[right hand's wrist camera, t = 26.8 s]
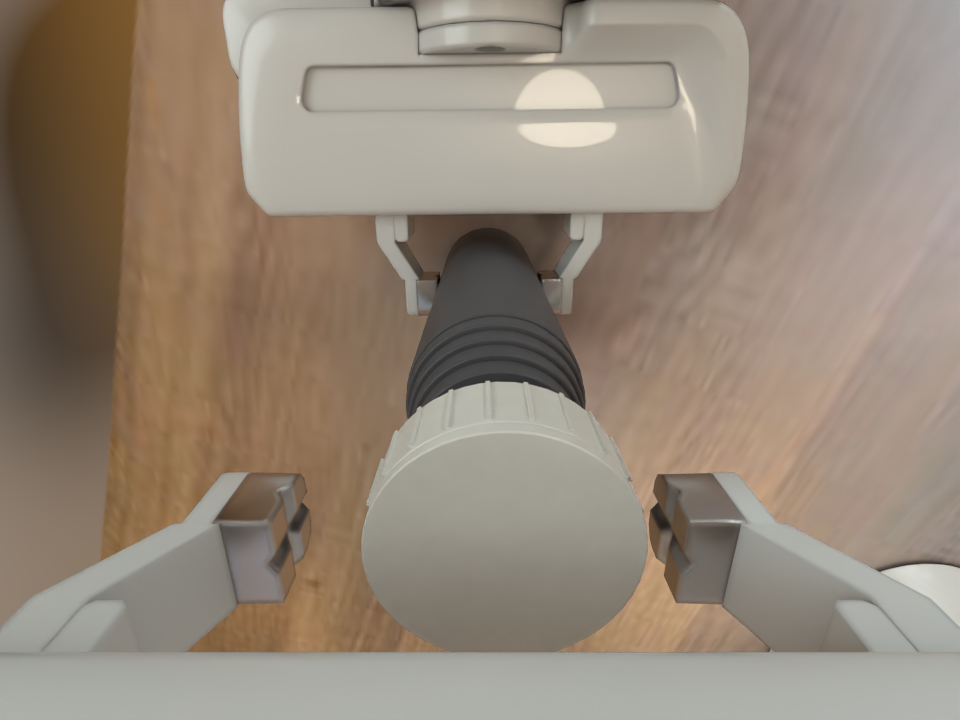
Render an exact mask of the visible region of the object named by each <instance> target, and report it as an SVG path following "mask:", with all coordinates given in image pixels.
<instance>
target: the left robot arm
mask: <svg viewBox="0 0 960 720" xmlns="http://www.w3.org/2000/svg"><path fill="white" fill-rule="evenodd" d="M223 24H224V30H225V36H226V42H227V48H228V54H229V59H230V62H231V65H232V68H233V70H234V73H235V74H236V76H237V78H238V79H239V87H238V92H239V129H240V144H241V155H242V164H243V174H244V180H245V186H246V190H247V192H248V194H249V195H250V197H251V198H252V199H253V200H254V201H255V202H256V203H257V204H258V205H259V206H260V208H261V209H262V210H263V211H264V212H265V213H266V214H268V215H269V216H273V217H297V216H375V224H376V236H377V243H378V245H379V246H380V248H381V249H382V251H383V252H384V254H385V255H386V257H387V258H388V259H389V261H390V262H391V264H392V265H393V267H394V268H395V270H396V271H397V273H398V274H399V276H400V277H401V279H402V280H405V286H406V301H407V312H408V315H409V316H422V315H429V313H430V310H431V307H432V304H433V301H434V298H435V295H436V292H437V289H438V286H439V282H440V272H423V270H422V268H421V266H420V265H419V263H418V261H417V260H416V258H415V256H414V255H413V253H412V251H411V250H410V248H409V247H408V245H407V243H406V241H407V240H408V239H409V238H410V237H411V235H412V234H413V233H414V219H413V215H486V214H564V218H563V231H564V232H565V233H566V234H567V235H568V236H569V237H570V238H571V239H572V240H571V242H570V244H569V245H568V247H567V249H566V250H565V252H564V254H563V255H562V257H561V259H560V260H559V262H558V264H557V265H556V267H555V269H554V270H550V271H537V277H538V279H539V281H540V283H541V286H542V288H543V290H544V292H545V294H546V296H547V298H548V301H549V303H550V305H551V307H552V309H553V311H554V313H555V314H570V313H571V310H572V298H573V280H574V278H577V277H578V275H579V274H580V272H581V271H582V269H583V268H584V266H585V265H586V263H587V262H588V260H589V259H590V257H591V256H592V254H593V253H594V251H595V250H596V248H597V247H598V245H599V244H600V242H601V240H602V228H603V215H604V213H674V212H710V211H713V210H714V209H716V208H717V207H718V206H719V205H720V204H721V203H722V201H723V200H724V199H725V198H726V197H727V196H728V194H729V193H730V192H731V191H732V190H733V188H734V187H735V185H736V182H737V179H738V175H739V171H740V166H741V159H742V153H743V145H744V137H745V128H746V118H747V105H748V88H749V49H748V41H747V37H746V33H745V30H744V27H743V25H742V22H741V20H740V19H739V17H738V16H737V15H736V13H735V12H734V11H733V10H732V9H731V8H730V7H728V6H727V5H725V4H724V3H722V2H720V1H717V0H225V2H224V6H223Z"/></svg>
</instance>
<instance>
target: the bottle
mask: <svg viewBox="0 0 960 720" xmlns="http://www.w3.org/2000/svg"><path fill="white" fill-rule="evenodd" d="M485 381H490V382H517V383H523V382H528V384H530V385H534V386H538V387H541V388H545V389H548V390H551V391H553V392H555V393H558V394H559V392H561V393H563V394H564V396H565V397H566V398H568V399H570V400H571V401H573V402H575V403H576V404H578V405H579V406H580V407H582V408H583V409H584V410H585V402H586V401H585V390H584V386H583V380H582V376H581V372H580V368H579V366H578V363H577V361H576V359H575V356H574V354H573V352H572V350H571V348H570V346H569V344H568V341H567V339H566V337H565V335H564V333H563V331H562V328H561V326H560V324H559V322H558V320H557V318H556V316H555V313H554V311H553V309H552V307H551V305H550V303H549V301H548V298H547V296H546V294H545V292H544V290H543V288H542V286H541V283H540V281H539V279H538V277H537V275H536V273H535V271H534V268H533V266H532V264H531V262H530V260H529V258H528V256H527V253H526V251H525V250H524V248H523V246H522V245H521V244H520V242H519V241H518V240H517V239H516V238H514V237H513V236H512V235H510V234H508V233H506V232H504V231H502V230H498V229H492V228H484V229H478V230H475V231H472V232H470V233H468V234H466V235H464V236H463V237H462V238H460V239H459V240H458V241H457V242H456V243H455V245H454V246H453V248H452V249H451V251H450V253H449V255H448V258H447V261H446V264H445V267H444V270H443V273H442V276H441V279H440V282H439V286H438V289H437V292H436V295H435V298H434V301H433V304H432V307H431V310H430V313H429V316H428V319H427V322H426V325H425V328H424V331H423V334H422V337H421V340H420V343H419V346H418V349H417V352H416V356H415V359H414V362H413V365H412V368H411V371H410V374H409V379H408V384H407V398H406V410H407V418H408V419H409V418H410V417H411V416H412V415H414V414H415V413H416V411H417V408H418V407H420V406H421V407H423V406H425V405H426V404H428V403H429V402H431V401H432V400H434V399H436V398H438V397H440V396H442V395H444V394H446V393H448V391H449V390H451V389H453V390H457V389H459V388H462V387H466V386H470V385H475V384H480V383H485Z"/></svg>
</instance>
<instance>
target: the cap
mask: <svg viewBox="0 0 960 720" xmlns="http://www.w3.org/2000/svg"><path fill="white" fill-rule="evenodd" d="M630 481H632V478H631V476H630V474H629V472H628V470H627V467H626V465H625V463H624V461H623V459H622V457H621V455H620V452H619V450H618V448H617V446H616V444H615V442H614V440H613V438H612V436H611V437H608V435H607V434H606V433H605V431H604V430H603V428H602V427H601V426H600V424H599V423H598V422H597V421H596V420H595V417H594V415H593V413H592V412H591V411H589V412H587V411H585V410H584V409H583V408H582V407H580V406H579V405H578V404H576V403H575V402H573V401H571V400H570V399H568V398H566V397H565V396H564V394H563V393H561V392H559V394H558V393H555V392H553V391H551V390H548V389H545V388H541V387H538V386H534V385H530V384H528V382H523V383H517V382H490V381H485V383H480V384H475V385H470V386H466V387H462V388H459V389H457V390H453V389H451V390H449V391H448V393H446V394H444V395H442V396H440V397H438V398H436V399H434V400H432V401H431V402H429V403H428V404H426V405H425V406H423V407H421V406H420V407H418V408H417V411H416V413H415V414H414V415H412V416H411V417H410V418H409V419H408V420H407V421H406V423H405V424H404V425H403V426H402V427H401V428H400V430H399V431H397V430H396V431H395V432H394V434H393V437H392V440H391V444H390V446H389V449H388V451H387V453H386V456H385V459H382V458H381V461H380V464H379V467H378V470H377V473H376V476H375V479H374V482H373V485H372V488H371V491H370V494H369V497H368V500H367V503H366V505H368V506H369V509H368V512H367V515H366V519H365V523H364V527H363V531H362V542H361V550H362V561H363V565H364V569H365V574H366V577H367V579H368V582H369V584H370V586H371V589H372V591H373V592H374V594H375V596H376V597H377V599H378V601H379V602H380V604H381V605H382V606H383V607H384V609H385V610H386V611H387V612H388V613H389V615H391V616H392V617H393V618H394V619H395V620H396V621H397V622H398V623H399V624H400V625H401V626H403V627H404V628H405V629H407V630H408V631H409V632H411V633H412V634H414V635H415V636H417V637H419V638H421V639H422V640H424V641H426V642H428V643H430V644H432V645H435V646H437V647H439V648H441V649H445V650H448V651H451V652H555V651H558V650H561V649H563V648H566V647H569V646H571V645H573V644H575V643H577V642H579V641H581V640H583V639H585V638H587V637H589V636H590V635H592V634H593V633H595V632H597V631H598V630H600V629H601V628H602V627H603V626H605V625H606V624H607V623H608V622H610V621H611V620H612V619H613V618H614V617H615V616H616V615H617V614H618V613H619V612H620V611H621V610H622V609H623V607H624V606H625V605H626V603H627V602H628V601H629V599H630V598H631V596H632V595H633V593H634V591H635V590H636V588H637V586H638V584H639V582H640V579H641V576H642V574H643V571H644V568H645V563H646V557H647V552H648V535H647V528H646V522H645V518H644V515H643V508H642V506H641V504H640V501H639V499H638V497H637V495H636V493H635V490H634V488H633V486H632V484H631V482H630Z"/></svg>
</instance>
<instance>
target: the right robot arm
mask: <svg viewBox="0 0 960 720" xmlns="http://www.w3.org/2000/svg"><path fill="white" fill-rule="evenodd" d="M306 493H307V490H306V484H305V479H304V477H303V476H302V475H301V474H297V473H249V472H235V473H225V474H222V475H221V476H220V477H219V478H218V480H217V481H216V482H215V483H214V484H213V486H212V487H211V488H210V489H209V491H208V492H207V493H206V494H205V495H204V497H203V498H202V499H201V500H200V502H199V503H198V504H197V505H196V507H195V508H194V509H193V510H192V511H191V513H190V514H189V515H188V516H187V518H186V519H185V520H184V521H183V523H182V524H172V525H170V526H168V527H166V528H164V529H162V530H160V531H158V532H156V533H155V534H153V535H151V536H149V537H147V538H145V539H143V540H141V541H139V542H137V543H135V544H133V545H131V546H129V547H127V548H125V549H124V550H122V551H120V552H118V553H116V554H114V555H112V556H110V557H108V558H106V559H104V560H102V561H100V562H98V563H97V564H95V565H93V566H91V567H89V568H87V569H85V570H83V571H81V572H79V573H77V574H75V575H73V576H71V577H69V578H67V579H66V580H64V581H62V582H60V583H58V584H56V585H54V586H52V587H50V588H48V589H46V590H44V591H42V592H40V593H38V594H36V595H34V596H33V597H31V598H30V599H29V600H28V601H27V602H26V603H25V604H24V605H23V606H21V607H20V609H18V610H17V611H16V612H15V613H14V614H13V615H12V616H11V617H10V618H9V619H8V620H7V621H6V622H5V623H4V624H3V625H2V626H1V627H0V720H960V568H958V567H953V566H948V565H941V564H914V565H906V566H901V567H896V568H891V569H888V570H884V571H881V572H879V571H877V570H875V569H873V568H871V567H869V566H867V565H865V564H863V563H861V562H859V561H858V560H856V559H854V558H852V557H850V556H848V555H846V554H844V553H842V552H840V551H838V550H836V549H834V548H832V547H831V546H829V545H827V544H825V543H823V542H821V541H819V540H817V539H815V538H813V537H811V536H809V535H807V534H805V533H803V532H802V531H800V530H798V529H796V528H794V527H792V526H790V525H788V524H778V523H777V521H776V520H775V519H774V518H773V516H772V515H771V514H770V513H769V512H768V510H767V509H766V508H765V507H764V505H763V504H762V503H761V502H760V500H759V499H758V498H757V497H756V496H755V494H754V493H753V492H752V491H751V489H750V488H749V487H748V486H747V485H746V483H745V482H744V481H743V480H742V478H741V477H740V476H739V475H738V474H736V473H734V472H722V473H702V474H658V475H657V477H656V479H655V483H654V489H653V493H654V495H655V497H656V499H657V501H658V503H657V504H656V505H655V506H654V507H653V508H652V509H651V510H650V518H649V534H650V541H651V545H652V549H653V551H654V554H655V556H656V558H657V559H658V560H660V561H661V562H662V563H664V564H665V565H666V566H665V572H664V577H665V579H666V581H667V583H668V586H669V588H670V590H671V592H672V595H673V597H674V599H675V601H676V603H693V604H723V606H722V607H724V608H725V609H726V610H727V611H728V612H729V613H730V614H732V615H733V616H734V617H735V618H736V619H737V620H738V621H740V622H741V623H742V624H743V625H744V626H745V627H746V628H748V629H749V630H750V631H751V632H752V633H753V634H754V635H756V636H757V637H758V638H759V639H760V640H761V641H762V642H764V643H765V644H766V645H767V646H768V647H769V648H770V651H769V652H186V651H187V650H189V649H190V648H191V647H192V646H193V645H194V644H196V643H197V642H198V641H199V640H200V639H201V638H202V637H204V636H205V635H206V634H207V633H208V632H209V631H210V630H212V629H213V628H214V627H215V626H216V625H217V624H218V623H220V622H221V621H222V620H223V619H224V618H225V617H226V616H228V615H229V614H230V613H231V612H232V611H233V610H234V609H236V608H237V604H266V603H284V602H285V599H286V597H287V595H288V593H289V590H290V588H291V586H292V584H293V581H294V579H295V577H296V572H295V566H294V565H295V564H296V563H298V562H299V561H300V560H302V559H303V558H304V556H305V554H306V551H307V549H308V545H309V540H310V535H311V517H310V510H309V509H308V508H307V507H306V506H305V505H304V504H303V503H302V501H303V499H304V497H305V495H306Z"/></svg>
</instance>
